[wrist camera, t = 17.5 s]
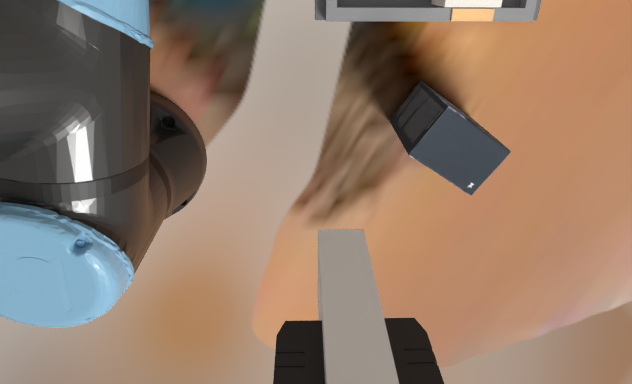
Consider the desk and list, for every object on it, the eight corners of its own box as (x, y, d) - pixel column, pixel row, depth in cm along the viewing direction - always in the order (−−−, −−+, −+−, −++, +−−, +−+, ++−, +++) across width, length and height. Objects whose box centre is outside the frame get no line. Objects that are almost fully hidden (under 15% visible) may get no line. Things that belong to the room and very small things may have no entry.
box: (472, 117, 48) (513, 152, 39) (439, 156, 50) (470, 198, 41) (419, 78, 46) (449, 105, 37) (386, 120, 48) (407, 156, 39)
